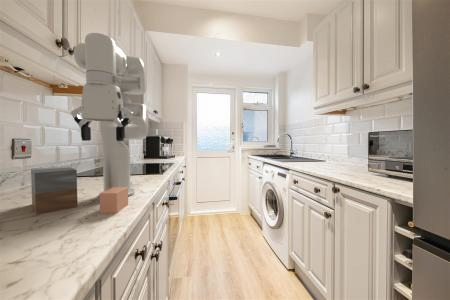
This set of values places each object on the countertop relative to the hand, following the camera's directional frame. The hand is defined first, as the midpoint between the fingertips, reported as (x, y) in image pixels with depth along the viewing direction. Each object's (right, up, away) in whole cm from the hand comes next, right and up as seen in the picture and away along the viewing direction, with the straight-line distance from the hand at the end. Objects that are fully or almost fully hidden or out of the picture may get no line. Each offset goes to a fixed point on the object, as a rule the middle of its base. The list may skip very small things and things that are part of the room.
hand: (103, 140), depth 61 cm
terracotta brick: (+1, -21, +4) cm, 22 cm away
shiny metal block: (-21, -21, +8) cm, 30 cm away
